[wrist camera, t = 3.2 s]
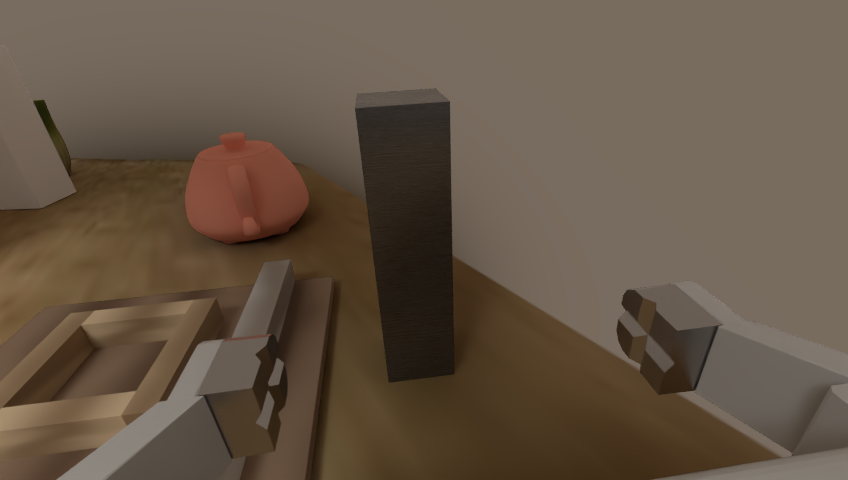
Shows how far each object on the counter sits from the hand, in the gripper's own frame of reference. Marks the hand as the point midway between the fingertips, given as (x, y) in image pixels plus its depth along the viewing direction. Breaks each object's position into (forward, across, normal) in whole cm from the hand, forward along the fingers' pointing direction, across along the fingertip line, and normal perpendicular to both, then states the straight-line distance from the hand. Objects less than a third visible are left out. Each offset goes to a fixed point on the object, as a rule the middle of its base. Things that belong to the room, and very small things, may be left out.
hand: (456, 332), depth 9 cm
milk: (+51, +48, +12) cm, 71 cm away
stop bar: (+13, 0, +12) cm, 18 cm away
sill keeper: (+13, +18, +12) cm, 25 cm away
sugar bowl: (+35, +16, +12) cm, 40 cm away
